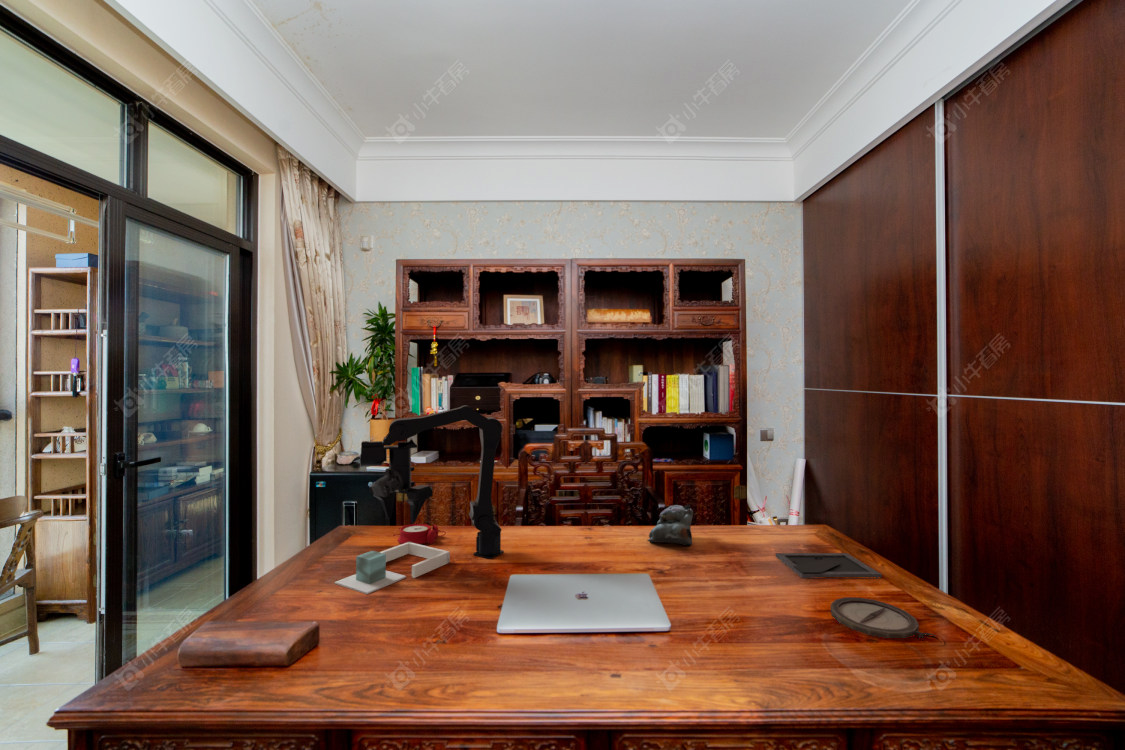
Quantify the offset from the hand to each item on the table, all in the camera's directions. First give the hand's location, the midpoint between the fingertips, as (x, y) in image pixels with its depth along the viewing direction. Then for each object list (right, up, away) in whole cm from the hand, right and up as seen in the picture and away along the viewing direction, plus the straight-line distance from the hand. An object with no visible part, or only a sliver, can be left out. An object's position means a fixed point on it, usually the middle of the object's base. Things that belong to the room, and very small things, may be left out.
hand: (400, 520), depth 146 cm
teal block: (-4, -11, -13) cm, 17 cm away
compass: (+112, -13, -34) cm, 118 cm away
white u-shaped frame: (+3, -12, -2) cm, 12 cm away
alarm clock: (0, -12, +20) cm, 23 cm away
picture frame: (+117, -13, -1) cm, 118 cm away
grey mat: (-4, -12, -13) cm, 18 cm away
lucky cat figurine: (+78, -13, +18) cm, 82 cm away
